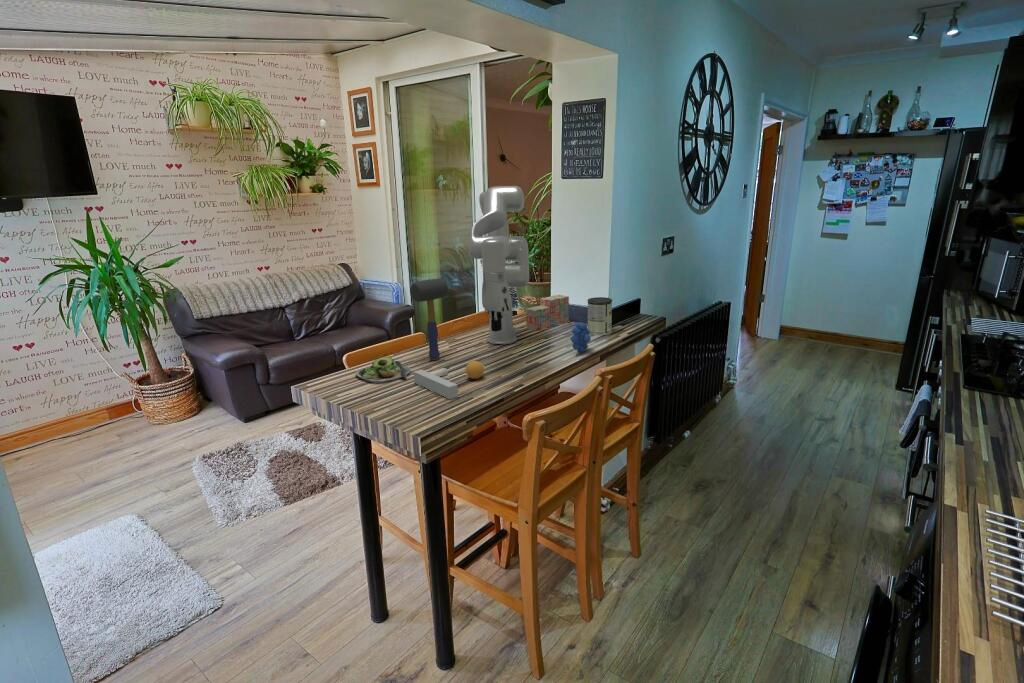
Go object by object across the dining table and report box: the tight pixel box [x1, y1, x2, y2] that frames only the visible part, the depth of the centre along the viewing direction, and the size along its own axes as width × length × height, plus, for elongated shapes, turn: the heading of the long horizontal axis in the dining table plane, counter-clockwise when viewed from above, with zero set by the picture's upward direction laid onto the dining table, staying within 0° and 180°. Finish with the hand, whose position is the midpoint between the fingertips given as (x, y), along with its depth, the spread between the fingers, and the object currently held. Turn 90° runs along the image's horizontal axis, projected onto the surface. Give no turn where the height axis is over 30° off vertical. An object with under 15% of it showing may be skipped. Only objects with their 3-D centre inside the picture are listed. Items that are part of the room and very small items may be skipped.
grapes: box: [570, 321, 591, 354], centre depth 195 cm, size 12×7×12 cm, turn 141°
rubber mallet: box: [409, 278, 449, 361], centre depth 191 cm, size 12×8×30 cm, turn 133°
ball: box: [465, 360, 485, 380], centre depth 173 cm, size 6×6×6 cm
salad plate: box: [355, 355, 412, 384], centre depth 180 cm, size 19×18×5 cm
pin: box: [429, 367, 449, 377], centre depth 176 cm, size 2×2×8 cm
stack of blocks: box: [525, 294, 570, 331], centre depth 236 cm, size 21×6×12 cm, turn 132°
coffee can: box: [587, 296, 613, 336], centre depth 222 cm, size 10×10×14 cm
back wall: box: [413, 369, 459, 400], centre depth 165 cm, size 3×20×4 cm, turn 42°
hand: (496, 330), depth 178 cm, fingers closed
